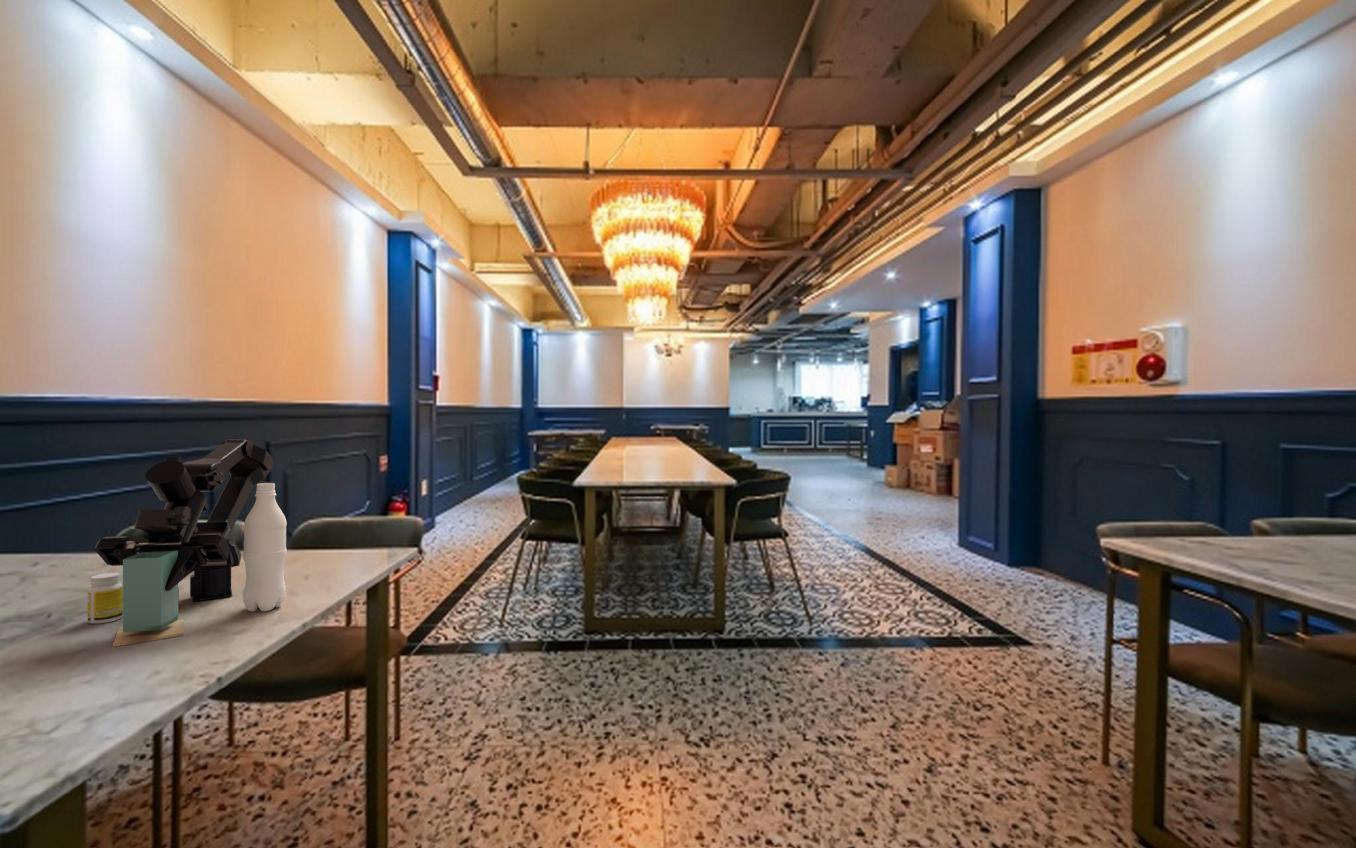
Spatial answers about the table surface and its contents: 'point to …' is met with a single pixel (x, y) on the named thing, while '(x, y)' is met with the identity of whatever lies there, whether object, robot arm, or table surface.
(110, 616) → the supplement bottle
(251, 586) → the water bottle
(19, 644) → the table surface
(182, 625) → the coaster
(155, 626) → the pot
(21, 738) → the table surface
